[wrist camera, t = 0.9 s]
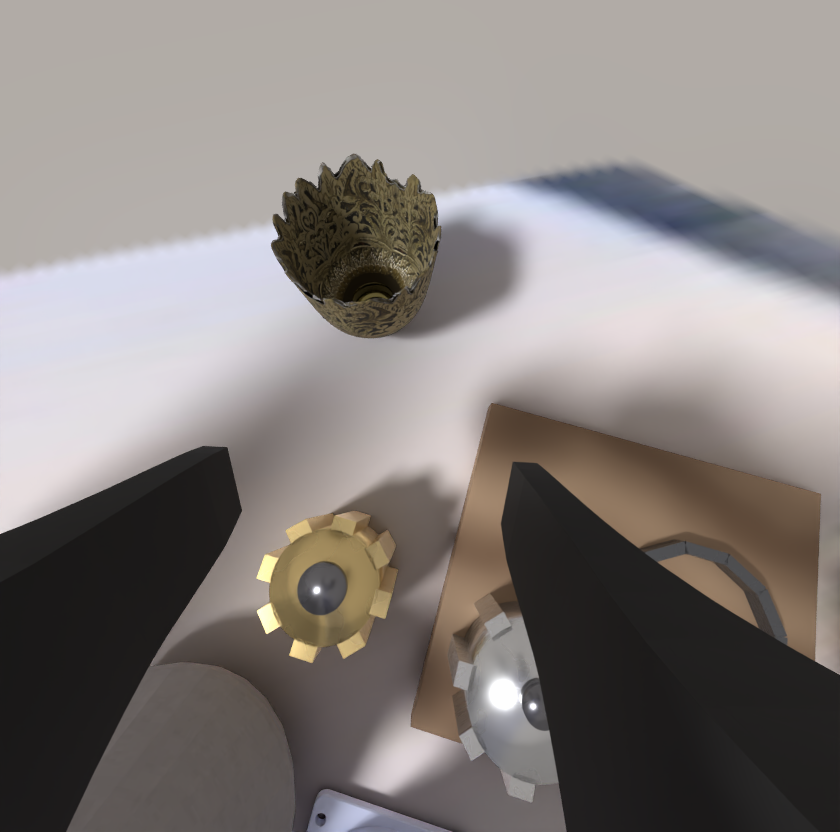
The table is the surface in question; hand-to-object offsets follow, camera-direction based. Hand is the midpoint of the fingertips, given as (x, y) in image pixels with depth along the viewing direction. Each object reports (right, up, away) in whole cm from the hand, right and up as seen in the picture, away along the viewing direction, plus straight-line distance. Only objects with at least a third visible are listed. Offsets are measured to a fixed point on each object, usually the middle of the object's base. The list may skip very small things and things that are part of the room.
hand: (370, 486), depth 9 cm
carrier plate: (+12, -8, +10) cm, 18 cm away
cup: (-2, +8, +14) cm, 17 cm away
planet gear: (-3, -6, +11) cm, 13 cm away
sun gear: (+6, -11, +9) cm, 15 cm away
